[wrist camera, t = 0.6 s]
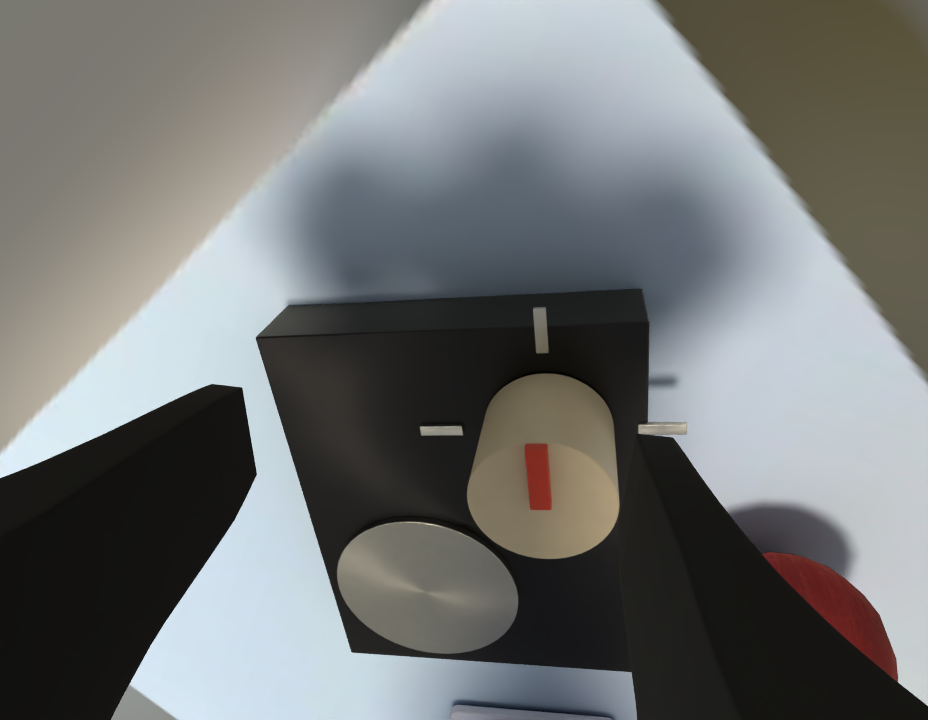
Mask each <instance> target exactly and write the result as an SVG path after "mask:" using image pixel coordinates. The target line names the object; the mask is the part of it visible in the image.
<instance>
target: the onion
mask: <svg viewBox="0 0 928 720" xmlns="http://www.w3.org/2000/svg"><path fill="white" fill-rule="evenodd" d="M762 555H763V556H764V557H765V558H766V560H767V561H768V562H769V563H770V564H771V565H772V566H773V567H774V569H775V570H776V571H777V572H778V573H779V574H780V575H781V576H782V577H783V578H784V579H785V580H786V581H787V582H788V583H789V584H790V585H791V586H792V587H793V588H794V589H795V590H796V591H797V592H798V593H799V594H800V595H801V596H802V597H803V598H804V599H805V600H806V601H807V602H808V603H809V604H810V605H811V606H812V607H813V608H814V609H815V610H816V611H817V612H818V613H819V614H820V615H821V616H822V617H823V618H824V619H825V620H826V621H827V622H829V623H830V624H831V625H832V626H833V627H834V628H835V629H836V630H837V631H838V632H840V633H841V634H842V635H843V636H844V637H845V638H846V639H847V640H848V641H849V642H851V643H852V644H853V645H854V646H855V647H856V648H858V649H859V650H860V651H861V652H862V653H863V654H865V655H866V656H867V657H868V658H869V659H871V660H872V661H873V662H874V663H875V664H876V665H878V666H879V667H880V668H881V669H882V670H884V671H885V672H886V673H887V674H888V675H889V676H891V677H892V678H893V679H894V680H895V681H898V673H897V662H896V657H895V654H894V652H893V649H892V647H891V644H890V641H889V639H888V636H887V633H886V631H885V628H884V626H883V623H882V620H881V618H880V615H879V614H878V612H877V611H876V610H875V609H874V607H873V606H872V605H871V604H870V602H869V601H868V600H867V598H866V597H865V596H864V595H863V594H862V593H861V592H860V591H859V590H857V589H856V588H855V587H854V586H853V585H852V584H851V583H850V582H848V581H847V580H846V579H845V578H844V577H842V576H841V575H839V574H838V573H836V572H835V571H834V570H832V569H831V568H829V567H827V566H825V565H822V564H820V563H817V562H815V561H812V560H810V559H807V558H805V557H801V556H797V555H794V554H785V553H775V552H767V553H762Z"/></svg>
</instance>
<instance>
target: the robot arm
mask: <svg viewBox="0 0 928 720" xmlns="http://www.w3.org/2000/svg"><path fill="white" fill-rule="evenodd" d="M256 475H257V473H256V467H255V461H254V455H253V449H252V443H251V437H250V431H249V425H248V419H247V414H246V408H245V402H244V396H243V390H242V388H241V387H232V386H224V385H215V384H211V385H208V386H206V387H203V388H200V389H198V390H196V391H193V392H191V393H189V394H186V395H184V396H182V397H180V398H178V399H176V400H174V401H172V402H169V403H167V404H165V405H163V406H161V407H159V408H157V409H155V410H153V411H151V412H149V413H147V414H145V415H143V416H140V417H138V418H136V419H134V420H132V421H130V422H128V423H126V424H124V425H122V426H120V427H118V428H116V429H114V430H112V431H109V432H107V433H105V434H103V435H101V436H99V437H97V438H94V439H92V440H90V441H88V442H85V443H83V444H81V445H79V446H76V447H74V448H72V449H70V450H67V451H65V452H63V453H61V454H58V455H56V456H54V457H52V458H49V459H47V460H45V461H43V462H40V463H38V464H35V465H33V466H31V467H28V468H26V469H23V470H21V471H18V472H15V473H13V474H10V475H8V476H5V477H2V478H0V720H111V718H112V716H113V714H114V712H115V710H116V708H117V706H118V704H119V702H120V700H121V698H122V696H123V695H124V692H125V691H126V689H127V687H128V685H129V684H130V682H131V680H132V678H133V676H134V675H135V673H136V671H137V669H138V667H139V665H140V664H141V662H142V660H143V658H144V656H145V654H146V653H147V651H148V649H149V647H150V645H151V644H152V642H153V641H154V639H155V637H156V636H157V634H158V633H159V631H160V629H161V628H162V626H163V625H164V623H165V621H166V620H167V619H168V617H169V616H170V614H171V613H172V611H173V610H174V608H175V607H176V605H177V604H178V602H179V601H180V600H181V598H182V597H183V595H184V594H185V592H186V591H187V589H188V588H189V586H190V585H191V584H192V582H193V581H194V579H195V578H196V576H197V575H198V573H199V572H200V570H201V569H202V568H203V566H204V565H205V563H206V562H207V560H208V559H209V557H210V556H211V554H212V553H213V551H214V550H215V548H216V547H217V545H218V544H219V542H220V541H221V539H222V538H223V537H224V535H225V534H226V532H227V531H228V529H229V527H230V526H231V524H232V523H233V521H234V520H235V518H236V516H237V514H238V512H239V510H240V508H241V506H242V504H243V502H244V500H245V498H246V496H247V494H248V492H249V490H250V488H251V485H252V483H253V481H254V479H255V477H256ZM619 578H620V586H621V594H622V602H623V610H624V618H625V625H626V633H627V640H628V648H629V655H630V663H631V670H632V678H633V685H634V693H635V700H636V710H637V720H928V706H927V705H926V704H924V703H923V702H922V701H921V700H919V699H918V698H917V697H916V696H914V695H913V694H912V693H910V692H909V691H908V690H907V689H905V688H904V687H903V686H902V685H900V684H899V683H898V682H897V681H895V680H894V679H893V678H892V677H891V676H889V675H888V674H887V673H886V672H885V671H884V670H882V669H881V668H880V667H879V666H878V665H876V664H875V663H874V662H873V661H872V660H871V659H869V658H868V657H867V656H866V655H865V654H863V653H862V652H861V651H860V650H859V649H858V648H856V647H855V646H854V645H853V644H852V643H851V642H849V641H848V640H847V639H846V638H845V637H844V636H843V635H842V634H841V633H840V632H838V631H837V630H836V629H835V628H834V627H833V626H832V625H831V624H830V623H829V622H827V621H826V620H825V619H824V618H823V617H822V616H821V615H820V614H819V613H818V612H817V611H816V610H815V609H814V608H813V607H812V606H811V605H810V604H809V603H808V602H807V601H806V600H805V599H804V598H803V597H802V596H801V595H800V594H799V593H798V592H797V591H796V590H795V589H794V588H793V587H792V586H791V585H790V584H789V583H788V582H787V581H786V580H785V579H784V578H783V577H782V576H781V575H780V574H779V573H778V572H777V571H776V570H775V569H774V567H773V566H772V565H771V564H770V563H769V562H768V561H767V560H766V558H765V557H764V556H763V555H762V554H761V553H760V552H759V550H758V549H757V548H756V547H755V546H754V545H753V544H752V542H751V541H750V540H749V539H748V538H747V536H746V535H745V534H744V533H743V532H742V530H741V529H740V528H739V526H738V525H737V524H736V523H735V521H734V520H733V519H732V518H731V516H730V515H729V514H728V512H727V511H726V510H725V509H724V507H723V506H722V505H721V504H720V502H719V501H718V500H717V498H716V497H715V496H714V494H713V493H712V491H711V490H710V489H709V487H708V486H707V485H706V483H705V482H704V480H703V479H702V478H701V476H700V475H699V473H698V472H697V471H696V469H695V468H694V466H693V465H692V463H691V462H690V461H689V459H688V458H687V456H686V455H685V453H684V452H683V450H682V449H681V448H680V446H679V445H678V443H677V442H676V441H675V440H674V438H671V437H663V436H654V435H645V434H637V433H636V438H635V443H634V448H633V453H632V458H631V463H630V468H629V473H628V478H627V484H626V489H625V494H624V499H623V504H622V509H621V514H620V519H619ZM450 719H451V720H612V719H610V718H607V717H597V716H585V715H574V714H562V713H550V712H538V711H526V710H515V709H503V708H491V707H479V706H467V705H455V706H453V707H452V708H451V712H450Z"/></svg>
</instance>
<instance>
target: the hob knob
mask: <svg viewBox="0 0 928 720" xmlns="http://www.w3.org/2000/svg"><path fill="white" fill-rule="evenodd" d="M467 501H468V506H469V510H470V512H471V515H472V517H473V519H474V520H475V522H476V524H477V525H478V527H479V528H480V529H481V530H482V531H483V532H484V533H485V534H486V535H487V536H488V537H489V538H490V539H491V540H493V541H494V542H495V543H497V544H498V545H500V546H502V547H504V548H506V549H508V550H510V551H512V552H515V553H517V554H520V555H524V556H528V557H533V558H541V559H558V558H566V557H571V556H575V555H578V554H581V553H583V552H585V551H588V550H590V549H591V548H593V547H595V546H596V545H598V544H599V543H600V542H601V541H603V540H604V539H605V538H606V536H607V535H608V534H609V533H610V531H611V530H612V528H613V527H614V525H615V523H616V521H617V518H618V514H619V505H620V503H619V489H618V476H617V462H616V449H615V435H614V423H613V419H612V415H611V412H610V410H609V408H608V406H607V405H606V403H605V401H604V400H603V399H602V398H601V397H600V395H598V394H597V393H596V392H595V391H594V390H593V389H592V388H590V387H589V386H587V385H586V384H584V383H582V382H580V381H578V380H576V379H573V378H571V377H567V376H564V375H558V374H546V373H543V374H534V375H529V376H525V377H522V378H519V379H517V380H515V381H512V382H511V383H509V384H508V385H506V386H504V387H503V388H502V389H501V390H500V391H499V392H498V393H497V394H496V395H495V396H494V397H493V399H492V400H491V402H490V403H489V406H488V408H487V410H486V414H485V418H484V422H483V426H482V430H481V434H480V438H479V442H478V446H477V451H476V455H475V459H474V463H473V467H472V471H471V475H470V479H469V483H468V488H467Z"/></svg>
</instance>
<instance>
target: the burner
mask: <svg viewBox="0 0 928 720" xmlns="http://www.w3.org/2000/svg"><path fill="white" fill-rule="evenodd" d="M337 581H338V585H339V589H340V592H341V594H342V597H343V598H344V600H345V602H346V604H347V605H348V607H349V608H350V609H351V611H352V612H353V613H354V614H355V615H356V616H357V618H358V619H359V620H360V621H362V622H363V623H364V624H365V625H366V626H367V627H369V628H370V629H372V630H373V631H374V632H376V633H377V634H379V635H381V636H382V637H384V638H386V639H388V640H390V641H392V642H394V643H397V644H399V645H402V646H405V647H408V648H411V649H415V650H419V651H424V652H431V653H442V654H452V653H463V652H469V651H473V650H476V649H480V648H482V647H485V646H487V645H489V644H491V643H493V642H494V641H496V640H498V639H499V638H500V637H501V636H503V635H504V634H505V633H506V631H507V630H508V629H509V628H510V626H511V625H512V623H513V622H514V619H515V617H516V614H517V610H518V604H519V590H518V585H517V581H516V578H515V576H514V573H513V571H512V570H511V568H510V566H509V564H508V563H507V562H506V560H505V559H504V558H503V556H502V555H501V554H500V553H499V552H498V551H497V550H496V549H495V548H494V547H493V546H491V545H490V544H489V543H488V542H486V541H485V540H484V539H482V538H481V537H479V536H477V535H476V534H474V533H472V532H470V531H468V530H466V529H464V528H462V527H460V526H457V525H455V524H452V523H449V522H445V521H442V520H438V519H432V518H427V517H415V516H408V517H395V518H389V519H385V520H381V521H378V522H375V523H373V524H370V525H368V526H367V527H365V528H363V529H361V530H360V531H359V532H357V533H356V534H355V535H354V536H353V537H352V538H351V539H350V540H349V541H348V542H347V544H346V546H345V547H344V549H343V551H342V553H341V556H340V559H339V561H338V567H337Z"/></svg>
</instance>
